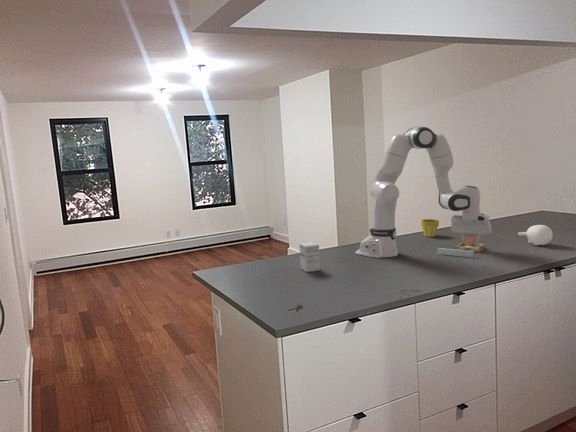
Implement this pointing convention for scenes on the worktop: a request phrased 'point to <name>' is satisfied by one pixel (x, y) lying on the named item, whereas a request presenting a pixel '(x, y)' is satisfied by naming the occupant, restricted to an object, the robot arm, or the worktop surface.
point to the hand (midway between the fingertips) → (470, 241)
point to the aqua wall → (455, 252)
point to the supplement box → (309, 256)
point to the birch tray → (470, 247)
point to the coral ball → (470, 239)
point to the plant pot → (429, 227)
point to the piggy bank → (538, 234)
